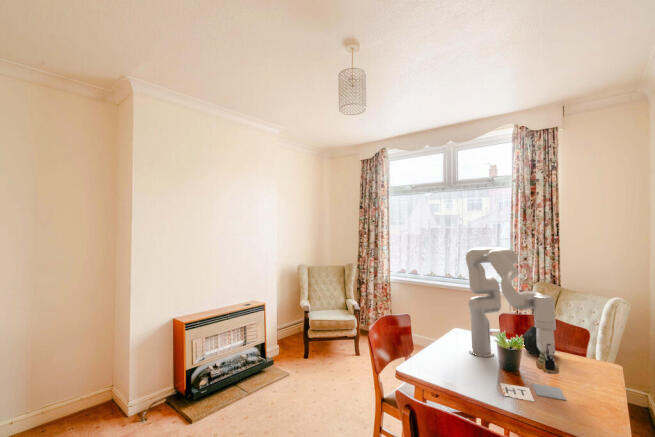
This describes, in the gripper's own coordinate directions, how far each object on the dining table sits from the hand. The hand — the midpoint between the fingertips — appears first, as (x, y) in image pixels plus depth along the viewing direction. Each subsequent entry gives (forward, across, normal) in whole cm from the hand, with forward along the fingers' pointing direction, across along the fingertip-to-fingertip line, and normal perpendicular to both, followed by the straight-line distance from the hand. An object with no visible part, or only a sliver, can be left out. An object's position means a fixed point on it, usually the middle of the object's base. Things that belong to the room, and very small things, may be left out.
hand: (547, 365), depth 128 cm
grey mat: (+12, 0, 0) cm, 12 cm away
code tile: (+12, +5, -13) cm, 18 cm away
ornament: (+3, 0, 0) cm, 3 cm away
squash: (+12, -44, +5) cm, 46 cm away
